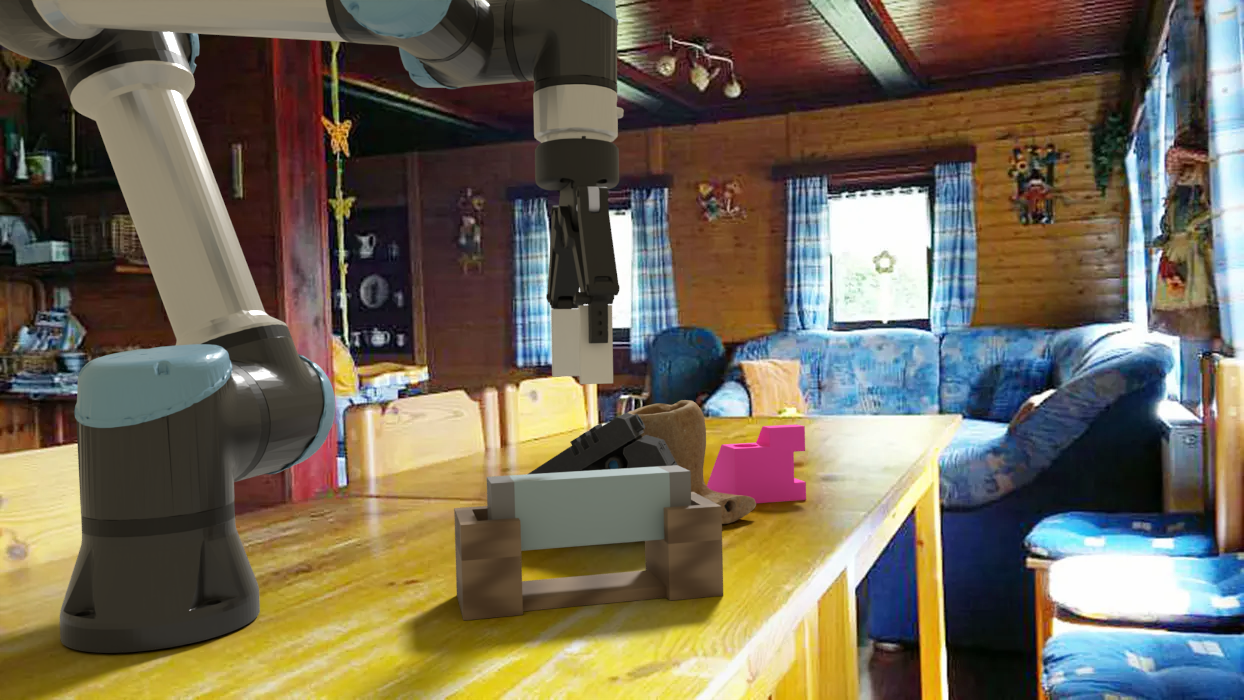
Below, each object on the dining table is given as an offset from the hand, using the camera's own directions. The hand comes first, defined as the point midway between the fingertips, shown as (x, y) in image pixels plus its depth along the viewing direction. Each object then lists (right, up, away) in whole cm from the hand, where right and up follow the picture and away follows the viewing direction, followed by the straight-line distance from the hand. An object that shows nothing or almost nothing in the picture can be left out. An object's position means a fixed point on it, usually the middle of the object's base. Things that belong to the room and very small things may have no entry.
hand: (580, 380), depth 85 cm
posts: (+1, -20, 0) cm, 20 cm away
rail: (+1, -15, 0) cm, 15 cm away
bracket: (+23, -18, +50) cm, 58 cm away
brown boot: (+11, -19, +33) cm, 39 cm away
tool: (+2, -19, +22) cm, 29 cm away
